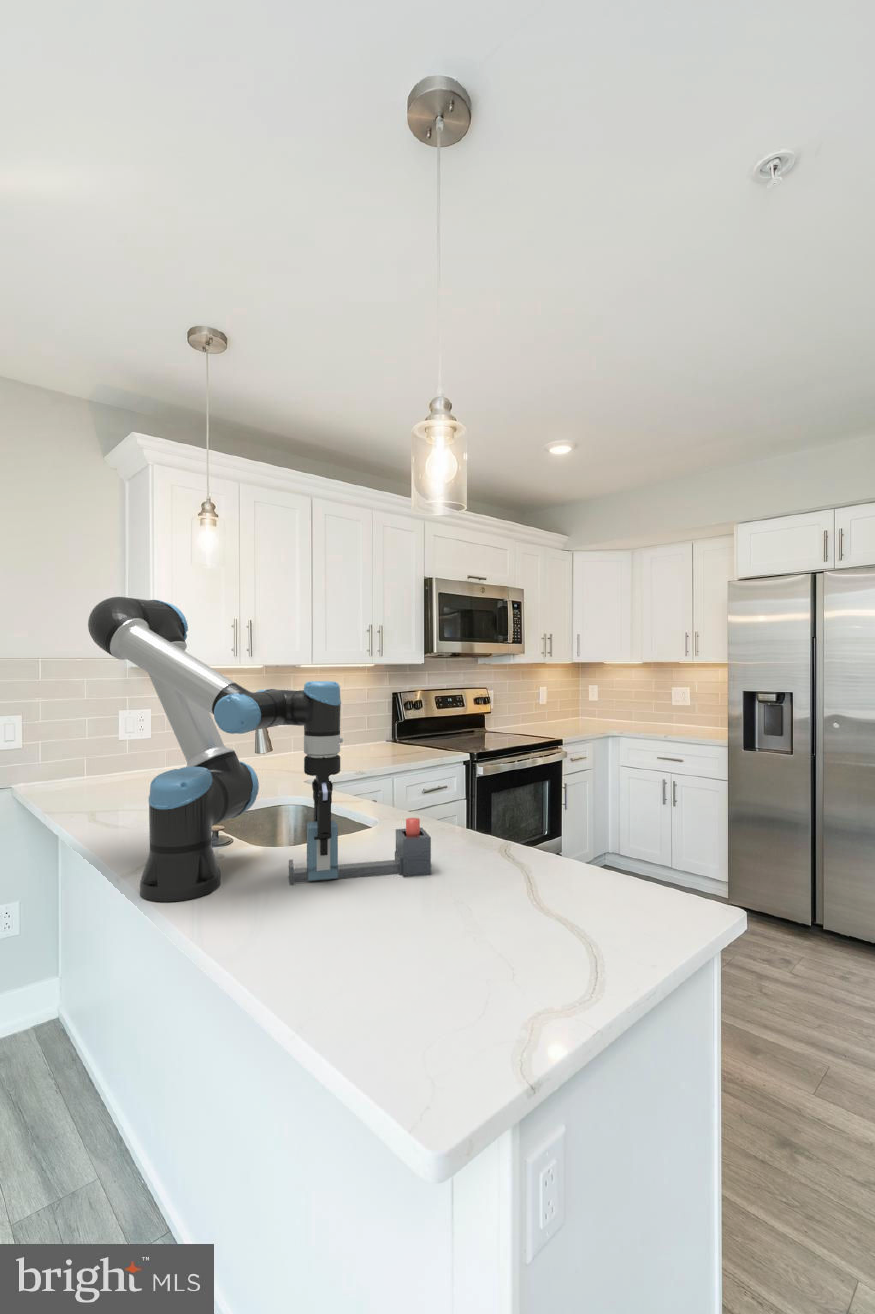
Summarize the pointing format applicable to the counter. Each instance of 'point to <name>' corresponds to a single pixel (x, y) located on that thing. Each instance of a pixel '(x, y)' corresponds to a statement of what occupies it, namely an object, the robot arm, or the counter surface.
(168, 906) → the counter surface
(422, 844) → the block
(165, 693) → the robot arm
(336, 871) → the carriage
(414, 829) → the cylinder
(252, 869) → the counter surface
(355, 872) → the rail
